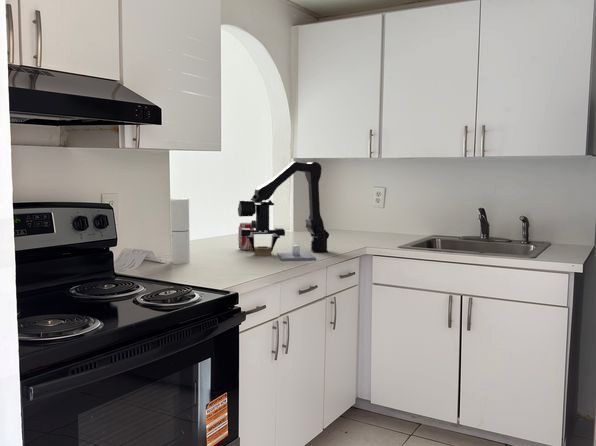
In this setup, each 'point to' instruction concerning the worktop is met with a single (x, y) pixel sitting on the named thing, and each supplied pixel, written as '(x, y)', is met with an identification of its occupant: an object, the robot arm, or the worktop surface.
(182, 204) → the cylindrical container
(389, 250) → the worktop surface
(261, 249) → the walnut ring
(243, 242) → the soda can
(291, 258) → the post plate
